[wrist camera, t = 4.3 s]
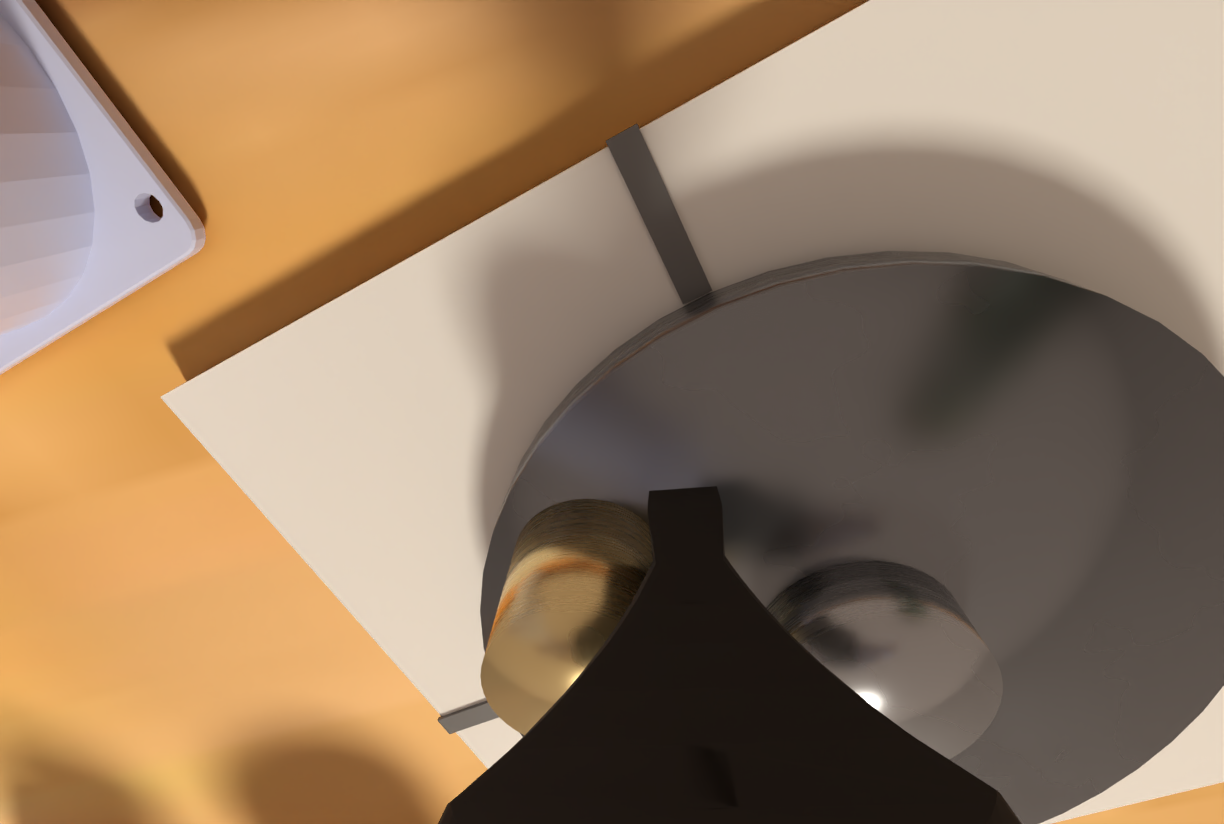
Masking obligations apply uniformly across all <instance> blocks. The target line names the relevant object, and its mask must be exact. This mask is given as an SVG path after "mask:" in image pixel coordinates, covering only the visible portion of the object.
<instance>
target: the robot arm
mask: <svg viewBox="0 0 1224 824" xmlns="http://www.w3.org/2000/svg"><path fill="white" fill-rule="evenodd" d="M151 195H153V196H154V197H155V198H156V199H157V200H158V201H159V202H160V204H161V206H162V208H163V217H162V218H160V217H159V216H157V215H156V214H155V213H154V212H153V210H152V208H151V206H150V196H151ZM205 239H206V235H205V228H204V226H203V224H202V222H201V220H200V218H199V217H198V216H197V214H196V213H195V212H194V210H193V209H192V208H191V206H190V205H189V204H188V202H187V201H186V200H185V198H184V197H183V196H182V194H181V193H180V192H179V190H178V189H177V188H176V186H175V185H174V184H173V182H172V181H171V180H170V179H169V177H168V176H167V175H166V173H165V172H164V171H163V169H162V168H161V167H160V165H159V164H158V163H157V161H156V160H155V159H154V157H153V156H152V155H151V153H150V152H149V151H148V149H147V148H146V147H145V145H144V144H143V143H142V141H141V140H140V139H139V138H138V136H137V135H136V134H135V132H134V131H133V130H132V128H131V127H130V126H129V124H128V123H127V122H126V120H125V119H124V118H123V116H122V115H121V114H120V112H119V111H118V110H117V108H116V107H115V106H114V104H113V103H112V102H111V101H110V99H109V98H108V97H107V95H106V94H105V93H104V91H103V90H102V89H101V87H100V86H99V85H98V83H97V82H96V81H95V79H94V78H93V77H92V75H91V74H90V73H89V71H88V70H87V69H86V67H85V66H84V65H83V63H82V62H81V61H80V60H79V58H78V57H77V56H76V54H75V53H74V52H73V50H72V49H71V48H70V46H69V45H68V44H67V42H66V41H65V40H64V38H63V37H62V36H61V34H60V33H59V32H58V30H57V29H56V28H55V26H54V25H53V24H52V22H51V21H50V20H49V19H48V17H47V16H46V15H45V13H44V12H43V11H42V9H41V8H40V7H39V5H38V4H37V3H36V1H35V0H0V375H1V374H2V373H4V372H6V371H7V370H9V369H10V368H12V367H14V366H15V365H17V364H18V363H20V362H22V361H23V360H25V359H27V358H28V357H30V356H31V355H33V354H35V353H36V352H38V351H39V350H41V349H43V348H44V347H46V346H48V345H49V344H51V343H52V342H54V341H56V340H57V339H59V338H60V337H62V336H64V335H65V334H67V333H69V332H70V331H72V330H73V329H75V328H77V327H78V326H80V325H82V324H83V323H85V322H86V321H88V320H90V319H91V318H93V317H94V316H96V315H98V314H99V313H101V312H103V311H104V310H106V309H107V308H109V307H111V306H112V305H114V304H115V303H117V302H119V301H120V300H122V299H124V298H125V297H127V296H128V295H130V294H132V293H133V292H135V291H136V290H138V289H140V288H141V287H143V286H145V285H146V284H148V283H149V282H151V281H153V280H154V279H156V278H157V277H159V276H161V275H162V274H164V273H166V272H167V271H169V270H170V269H172V268H174V267H175V266H177V265H178V264H180V263H182V262H183V261H185V260H187V259H188V258H190V257H191V256H193V255H195V254H196V253H198V252H199V251H200V250H201V249H202V248H203V247H204V243H205ZM647 513H648V522H649V531H650V540H651V549H652V558H653V562H652V564H651V566H650V568H649V570H648V572H647V574H646V576H645V577H644V579H643V581H642V583H641V585H640V587H639V589H638V591H637V592H636V594H635V596H634V598H633V600H632V601H631V603H630V605H629V606H628V608H627V610H626V611H625V613H624V615H623V616H622V618H621V619H620V621H619V622H618V624H617V625H616V627H615V628H614V630H613V631H612V633H611V634H610V636H609V637H608V639H607V640H606V641H605V643H604V644H603V646H602V647H601V648H600V649H599V651H598V652H597V653H596V655H595V656H594V657H593V659H592V660H591V661H590V662H589V664H588V665H587V666H586V668H585V669H584V670H583V672H582V673H581V674H580V675H579V676H578V678H577V679H576V680H575V681H574V682H573V684H572V685H571V686H570V687H569V688H568V690H567V691H566V692H565V693H564V694H563V695H562V696H561V697H560V698H559V699H558V700H557V702H556V703H555V704H554V705H553V706H552V707H551V708H550V709H549V710H548V711H547V712H546V713H545V714H544V715H543V716H542V717H541V718H540V720H539V721H538V722H537V723H536V724H535V725H534V726H533V727H532V728H531V729H530V730H529V731H528V732H527V733H526V734H525V735H524V736H523V737H522V738H521V739H520V740H519V741H518V742H517V743H516V744H515V745H514V746H513V747H512V748H511V749H510V750H509V751H508V752H507V753H506V754H504V755H503V756H502V757H501V758H500V759H499V760H498V761H497V762H495V763H494V764H493V765H492V766H491V767H490V768H489V769H488V770H486V771H485V772H484V773H483V774H482V775H481V776H480V777H479V778H477V779H476V780H475V781H474V782H473V783H472V784H471V785H470V786H468V787H467V788H466V789H465V790H464V791H463V792H462V793H461V794H459V795H458V796H457V797H456V798H455V799H453V800H452V801H451V802H450V803H448V804H447V806H446V809H445V811H444V813H443V815H442V817H441V819H440V821H439V823H438V824H1022V823H1021V822H1020V820H1019V819H1018V818H1017V816H1016V815H1015V813H1014V812H1013V810H1012V809H1011V808H1010V806H1009V805H1008V803H1007V802H1006V801H1005V799H1004V798H1003V796H1002V795H1001V794H1000V793H999V792H998V791H997V790H996V789H994V788H993V787H991V786H990V785H988V784H986V783H985V782H983V781H982V780H980V779H979V778H977V777H976V776H974V775H972V774H971V773H969V772H968V771H966V770H965V769H963V768H962V767H960V766H958V765H957V764H955V763H954V762H952V761H951V760H949V759H948V758H946V757H944V756H943V755H941V754H940V753H938V752H937V751H935V750H934V749H932V748H930V747H929V746H927V745H926V744H924V743H923V742H921V741H920V740H918V739H917V738H915V737H914V736H912V735H911V734H909V733H908V732H906V731H905V730H904V729H902V728H901V727H900V726H898V725H897V724H896V723H894V722H893V721H891V720H890V719H889V718H887V717H886V716H885V715H883V714H882V713H881V712H879V711H878V710H877V709H875V708H874V707H873V706H872V705H870V704H869V703H868V702H867V701H866V700H864V699H863V698H862V697H861V696H860V695H858V694H857V693H856V692H855V691H854V690H852V689H851V688H850V687H849V686H848V685H846V684H845V683H844V682H843V681H842V680H840V679H839V678H838V677H837V676H836V675H835V674H833V673H832V672H831V671H830V670H829V669H827V668H826V667H825V666H824V665H823V664H821V663H820V662H819V661H818V660H817V659H816V658H815V657H814V656H813V655H812V654H811V653H810V652H809V651H808V650H806V649H805V648H804V647H803V646H802V645H801V644H800V643H799V642H798V641H797V640H796V639H795V638H794V637H793V636H792V635H791V634H790V633H789V632H788V631H787V630H786V629H785V628H784V627H783V626H782V625H781V624H780V623H779V622H778V620H777V619H776V618H775V617H774V616H773V615H772V614H771V613H770V612H769V611H768V610H767V608H766V607H765V606H764V605H763V604H762V603H761V602H760V600H759V599H758V598H757V597H756V596H755V594H754V593H753V592H752V591H751V590H750V588H749V587H748V586H747V585H746V583H745V582H744V581H743V580H742V578H741V577H740V576H739V574H738V573H737V572H736V570H735V569H734V568H733V566H732V565H731V564H730V562H729V561H728V559H727V558H726V556H725V548H724V529H723V509H722V503H721V499H720V495H719V492H718V489H717V486H711V487H696V488H682V489H668V490H653V491H649V496H648V509H647Z"/></svg>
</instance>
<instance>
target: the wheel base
mask: <svg viewBox="0 0 1224 824" xmlns="http://www.w3.org/2000/svg"><path fill="white" fill-rule="evenodd" d="M606 143H607V145H608V146H607V147H605V148H604V149H602V150H600V151H598V152H596V153H595V154H593V155H591V156H589V157H588V158H586V159H584V160H582V161H580V162H579V163H577V164H575V165H573V166H571V167H570V168H568V169H566V170H564V171H562V172H561V173H559V174H557V175H555V176H554V177H552V178H550V179H548V180H546V181H545V182H543V183H541V184H539V185H537V186H536V187H534V188H532V189H530V190H528V191H527V192H525V193H523V194H521V195H520V196H518V197H516V198H514V199H512V200H511V201H509V202H507V203H505V204H503V205H502V206H500V207H498V208H496V209H494V210H493V211H491V212H489V213H487V214H486V215H484V216H482V217H480V218H478V219H477V220H475V221H473V222H471V223H469V224H468V225H466V226H464V227H462V228H461V229H459V230H457V231H455V232H453V233H452V234H450V235H448V236H446V237H444V238H443V239H441V240H439V241H437V242H435V243H434V244H432V245H430V246H428V247H427V248H425V249H423V250H421V251H419V252H418V253H416V254H414V255H412V256H410V257H409V258H407V259H405V260H403V261H401V262H400V263H398V264H396V265H394V266H393V267H391V268H389V269H387V270H385V271H384V272H382V273H380V274H378V275H376V276H375V277H373V278H371V279H369V280H367V281H366V282H364V283H362V284H360V285H359V286H357V287H355V288H353V289H351V290H350V291H348V292H346V293H344V294H342V295H341V296H339V297H337V298H335V299H333V300H332V301H330V302H328V303H326V304H325V305H323V306H321V307H319V308H317V309H316V310H314V311H312V312H310V313H308V314H307V315H305V316H303V317H301V318H299V319H298V320H296V321H294V322H292V323H291V324H289V325H287V326H285V327H283V328H282V329H280V330H278V331H276V332H274V333H273V334H271V335H269V336H267V337H265V338H264V339H262V340H260V341H258V342H257V343H255V344H253V345H251V346H249V347H248V348H246V349H244V350H242V351H240V352H239V353H237V354H235V355H233V356H231V357H230V358H228V359H226V360H224V361H223V362H221V363H219V364H217V365H215V366H214V367H212V368H210V369H208V370H206V371H205V372H203V373H201V374H199V375H197V376H196V377H194V378H192V379H190V380H189V381H187V382H185V383H183V384H182V385H180V386H178V387H176V388H175V389H173V390H171V391H170V392H168V393H166V394H164V395H163V396H161V398H162V400H163V401H164V402H165V403H166V404H167V405H168V406H169V408H170V409H171V410H172V411H173V412H174V413H175V414H176V415H177V417H178V418H179V419H180V420H181V421H182V422H183V423H184V425H185V426H186V427H187V428H188V429H189V430H190V431H191V433H192V434H193V435H194V436H195V437H196V438H197V439H198V440H199V442H200V443H201V444H202V445H203V446H204V447H205V448H206V450H207V451H208V452H209V453H210V454H211V455H212V456H213V457H214V459H215V460H216V461H217V462H218V463H219V464H220V465H221V467H222V468H223V469H224V470H225V471H226V472H227V473H228V474H229V476H230V477H231V478H232V479H233V480H234V481H235V482H236V484H237V485H238V486H239V487H240V488H241V489H242V490H243V492H244V493H245V494H246V495H247V496H248V497H249V498H250V499H251V501H252V502H253V503H254V504H255V505H256V506H257V507H258V509H259V510H260V511H261V512H262V513H263V514H264V515H265V516H266V518H267V519H268V520H269V521H270V522H271V523H272V524H273V526H274V527H275V528H276V529H277V530H278V531H279V532H280V533H281V535H282V536H283V537H284V538H285V539H286V540H287V541H288V543H289V544H290V545H291V546H292V547H293V548H294V549H295V551H296V552H297V553H298V554H299V555H300V556H301V557H302V558H303V560H304V561H305V562H306V563H307V564H308V565H309V566H310V568H311V569H312V570H313V571H314V572H315V573H316V574H317V575H318V577H319V578H320V579H321V580H322V581H323V582H324V583H325V585H326V586H327V587H328V588H329V589H330V590H331V591H332V592H333V594H334V595H335V596H336V597H337V598H338V599H339V600H340V602H341V603H342V604H343V605H344V606H345V607H346V608H347V610H348V611H349V612H350V613H351V614H352V615H353V616H354V617H355V619H356V620H357V621H358V622H359V623H360V624H361V625H362V627H363V628H364V629H365V630H366V631H367V632H368V633H369V634H370V636H371V637H372V638H373V639H374V640H375V641H376V642H377V644H378V645H379V646H380V647H381V648H382V649H383V650H384V651H385V653H386V654H387V655H388V656H389V657H390V658H391V659H392V661H393V662H394V663H395V664H396V665H397V666H398V667H399V669H400V670H401V671H402V672H403V673H404V674H405V675H406V676H407V678H408V679H409V680H410V681H411V682H412V683H413V684H414V686H415V687H416V688H417V689H418V690H419V691H420V692H421V693H422V695H423V696H424V697H425V698H426V699H427V700H428V701H429V703H430V704H431V705H432V706H433V707H434V708H435V709H436V711H437V712H438V713H439V714H440V715H441V717H439V718H438V722H439V723H440V724H441V725H442V726H443V727H444V728H445V729H446V731H447V732H448V733H449V734H452V733H455V732H456V733H457V734H458V735H459V737H460V738H461V739H462V740H463V741H464V742H465V743H466V745H467V746H468V747H469V748H470V749H471V750H472V751H473V752H474V754H475V755H476V756H477V757H478V758H479V759H480V760H481V762H482V763H483V764H484V765H485V766H486V767H487V768H488V769H489V768H490V767H491V766H492V765H493V764H494V763H495V762H497V761H498V760H499V759H500V758H501V757H502V756H503V755H504V754H506V753H507V752H508V751H509V750H510V749H511V748H512V747H513V746H514V745H515V744H516V743H517V742H518V741H519V740H520V739H521V738H522V735H521V734H520V733H519V732H517V731H516V730H514V729H513V728H511V727H510V726H509V725H507V724H506V723H505V722H504V721H503V720H502V719H500V718H499V716H498V715H497V714H496V713H495V712H494V711H493V709H492V708H491V706H490V705H489V703H488V702H487V700H486V697H485V695H484V693H483V689H482V686H481V677H480V675H481V666H482V662H483V658H484V655H485V651H484V647H483V637H482V626H481V616H480V604H481V591H482V578H483V570H484V566H485V562H486V558H487V554H488V550H489V546H490V542H491V538H492V534H493V530H494V527H495V525H496V522H497V519H498V516H499V513H500V510H501V507H502V504H503V501H504V499H505V496H506V494H507V492H508V489H509V487H510V485H511V482H512V480H513V478H514V475H515V473H516V471H517V468H518V466H519V464H520V461H521V459H522V458H523V456H524V454H525V453H526V451H527V450H528V448H529V446H530V445H531V443H532V441H533V440H534V438H535V437H536V435H537V433H538V432H539V430H540V429H541V427H542V425H543V424H544V422H545V421H546V420H547V418H548V417H549V416H550V415H551V414H552V413H553V411H554V410H555V409H556V408H557V407H558V405H559V404H560V403H561V402H562V401H563V399H564V398H565V397H566V396H567V395H568V394H569V392H570V391H571V390H572V389H573V388H574V386H575V385H576V384H577V383H578V382H579V381H581V380H582V379H583V378H584V377H585V376H586V375H587V374H588V373H589V372H591V371H592V370H593V369H594V368H595V367H596V366H597V365H598V364H599V363H601V362H602V361H603V360H604V359H605V358H606V357H607V356H608V355H609V354H610V353H612V352H613V351H614V350H615V349H617V348H618V347H619V346H621V345H622V344H624V343H625V342H627V341H628V340H630V339H631V338H632V337H634V336H635V335H637V334H638V333H640V332H641V331H643V330H644V329H646V328H647V327H648V326H650V325H651V324H653V323H654V322H656V321H657V320H659V319H660V318H662V317H664V316H666V315H668V314H670V313H672V312H674V311H676V310H678V309H679V308H681V307H683V306H685V305H687V304H689V303H691V302H693V301H695V300H697V299H699V298H701V297H703V296H705V295H707V294H708V293H710V292H713V291H716V290H718V289H721V288H724V287H726V286H729V285H732V284H735V283H737V282H740V281H743V280H745V279H748V278H751V277H753V276H756V275H759V274H762V273H764V272H767V271H771V270H775V269H780V268H784V267H788V266H792V265H797V264H801V263H805V262H809V261H814V260H818V259H822V258H827V257H835V256H845V255H854V254H864V253H873V252H883V251H912V252H950V253H956V254H962V255H968V256H974V257H981V258H987V259H993V260H999V261H1006V262H1009V263H1013V264H1016V265H1019V266H1022V267H1025V268H1028V269H1032V270H1035V271H1038V272H1041V273H1044V274H1048V275H1051V276H1054V277H1057V278H1060V279H1063V280H1066V281H1068V282H1071V283H1074V284H1076V285H1079V286H1082V287H1084V288H1087V289H1090V290H1092V291H1095V292H1098V293H1100V294H1103V295H1105V296H1108V297H1110V298H1112V299H1114V300H1116V301H1118V302H1120V303H1122V304H1124V305H1126V306H1128V307H1130V308H1132V309H1134V310H1136V311H1138V312H1140V313H1142V314H1144V315H1146V316H1148V317H1150V318H1152V319H1154V320H1156V321H1158V322H1160V323H1161V324H1163V325H1164V326H1165V327H1167V328H1168V329H1169V330H1171V331H1172V332H1173V333H1175V334H1176V335H1178V336H1179V337H1180V338H1182V339H1183V340H1184V341H1186V342H1187V343H1188V344H1190V345H1191V346H1192V347H1194V348H1195V349H1197V350H1198V351H1199V352H1201V353H1202V354H1203V355H1204V356H1205V357H1206V358H1207V359H1208V360H1209V361H1210V362H1211V363H1212V364H1213V366H1214V367H1215V368H1216V369H1217V370H1218V371H1219V372H1220V373H1221V374H1222V375H1223V376H1224V0H868V1H867V2H865V3H863V4H861V5H859V6H858V7H856V8H854V9H852V10H851V11H849V12H847V13H845V14H843V15H842V16H840V17H838V18H836V19H834V20H833V21H831V22H829V23H827V24H826V25H824V26H822V27H820V28H818V29H817V30H815V31H813V32H811V33H809V34H808V35H806V36H804V37H802V38H800V39H799V40H797V41H795V42H793V43H792V44H790V45H788V46H786V47H784V48H783V49H781V50H779V51H777V52H775V53H774V54H772V55H770V56H768V57H766V58H765V59H763V60H761V61H759V62H758V63H756V64H754V65H752V66H750V67H749V68H747V69H745V70H743V71H741V72H740V73H738V74H736V75H734V76H732V77H731V78H729V79H727V80H725V81H724V82H722V83H720V84H718V85H716V86H715V87H713V88H711V89H709V90H707V91H706V92H704V93H702V94H700V95H698V96H697V97H695V98H693V99H691V100H690V101H688V102H686V103H684V104H682V105H681V106H679V107H677V108H675V109H673V110H672V111H670V112H668V113H666V114H664V115H663V116H661V117H659V118H657V119H656V120H654V121H652V122H650V123H648V124H647V125H645V126H643V127H641V128H639V127H638V124H635V125H633V126H632V127H630V128H628V129H626V130H624V131H623V132H621V133H619V134H617V135H616V136H614V137H612V138H610V139H608V140H607V141H606ZM1221 782H1224V686H1223V687H1222V688H1221V690H1220V691H1219V692H1218V693H1217V695H1216V696H1215V697H1214V698H1213V700H1212V701H1211V702H1210V703H1209V705H1208V706H1207V707H1206V708H1205V709H1204V711H1203V712H1202V713H1201V714H1200V715H1199V716H1198V717H1197V718H1196V719H1195V720H1194V721H1193V722H1192V723H1191V724H1190V725H1189V726H1188V727H1187V728H1186V729H1185V730H1184V731H1183V732H1181V733H1180V734H1179V735H1178V736H1177V737H1176V738H1175V739H1174V740H1173V741H1172V742H1171V743H1170V744H1169V745H1167V746H1166V747H1165V748H1164V749H1162V750H1161V751H1160V752H1159V753H1157V754H1156V755H1155V756H1154V757H1152V758H1151V759H1150V760H1149V761H1147V762H1146V763H1145V764H1144V765H1142V766H1141V767H1140V768H1139V769H1137V770H1136V771H1134V772H1133V773H1131V774H1130V775H1128V776H1127V777H1125V778H1124V779H1122V780H1120V781H1119V782H1117V783H1116V784H1114V785H1113V786H1111V787H1110V788H1108V789H1107V790H1105V791H1104V792H1102V793H1100V794H1099V795H1097V796H1095V797H1093V798H1091V799H1089V800H1087V801H1085V802H1084V803H1082V804H1080V805H1078V806H1076V807H1074V808H1072V809H1070V810H1069V811H1067V812H1065V813H1063V814H1061V815H1058V816H1056V817H1054V818H1051V819H1049V820H1047V821H1044V822H1042V823H1040V824H1051V823H1055V822H1059V821H1064V820H1068V819H1072V818H1076V817H1080V816H1084V815H1089V814H1093V813H1097V812H1101V811H1105V810H1109V809H1113V808H1118V807H1122V806H1126V805H1130V804H1134V803H1138V802H1143V801H1147V800H1151V799H1155V798H1159V797H1163V796H1167V795H1172V794H1176V793H1180V792H1184V791H1188V790H1192V789H1197V788H1201V787H1205V786H1209V785H1213V784H1217V783H1221Z"/></svg>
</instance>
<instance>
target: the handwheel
mask: <svg viewBox="0 0 1224 824" xmlns="http://www.w3.org/2000/svg"><path fill="white" fill-rule="evenodd" d="M711 486H717V489H718V492H719V495H720V499H721V503H722V509H723V529H724V548H725V556H726V558H727V559H728V561H729V562H730V564H731V565H732V566H733V568H734V569H735V570H736V572H737V573H738V574H739V576H740V577H741V578H742V580H743V581H744V582H745V583H746V585H747V586H748V587H749V588H750V590H751V591H752V592H753V593H754V594H755V596H756V597H757V598H758V599H759V600H760V602H761V603H762V604H763V605H764V606H765V607H766V608H767V610H768V611H769V612H770V613H771V614H772V615H773V616H774V617H775V618H776V619H777V620H778V622H779V623H780V624H781V625H782V626H783V627H784V628H785V629H786V630H787V631H788V632H789V633H790V634H791V635H792V636H793V637H794V638H795V639H796V640H797V641H798V642H799V643H800V644H801V645H802V646H803V647H804V648H805V649H806V650H808V651H809V652H810V653H811V654H812V655H813V656H814V657H815V658H816V659H817V660H818V661H819V662H820V663H821V664H823V665H824V666H825V667H826V668H827V669H829V670H830V671H831V672H832V673H833V674H835V675H836V676H837V677H838V678H839V679H840V680H842V681H843V682H844V683H845V684H846V685H848V686H849V687H850V688H851V689H852V690H854V691H855V692H856V693H857V694H858V695H860V696H861V697H862V698H863V699H864V700H866V701H867V702H868V703H869V704H870V705H872V706H873V707H874V708H875V709H877V710H878V711H879V712H881V713H882V714H883V715H885V716H886V717H887V718H889V719H890V720H891V721H893V722H894V723H896V724H897V725H898V726H900V727H901V728H902V729H904V730H905V731H906V732H908V733H909V734H911V735H912V736H914V737H915V738H917V739H918V740H920V741H921V742H923V743H924V744H926V745H927V746H929V747H930V748H932V749H934V750H935V751H937V752H938V753H940V754H941V755H943V756H944V757H946V758H948V759H949V760H951V761H952V762H954V763H955V764H957V765H958V766H960V767H962V768H963V769H965V770H966V771H968V772H969V773H971V774H972V775H974V776H976V777H977V778H979V779H980V780H982V781H983V782H985V783H986V784H988V785H990V786H991V787H993V788H994V789H996V790H997V791H998V792H999V793H1000V794H1001V795H1002V796H1003V798H1004V799H1005V801H1006V802H1007V803H1008V805H1009V806H1010V808H1011V809H1012V810H1013V812H1014V813H1015V815H1016V816H1017V818H1018V819H1019V820H1020V822H1021V823H1022V824H1040V823H1042V822H1044V821H1047V820H1049V819H1051V818H1054V817H1056V816H1058V815H1061V814H1063V813H1065V812H1067V811H1069V810H1070V809H1072V808H1074V807H1076V806H1078V805H1080V804H1082V803H1084V802H1085V801H1087V800H1089V799H1091V798H1093V797H1095V796H1097V795H1099V794H1100V793H1102V792H1104V791H1105V790H1107V789H1108V788H1110V787H1111V786H1113V785H1114V784H1116V783H1117V782H1119V781H1120V780H1122V779H1124V778H1125V777H1127V776H1128V775H1130V774H1131V773H1133V772H1134V771H1136V770H1137V769H1139V768H1140V767H1141V766H1142V765H1144V764H1145V763H1146V762H1147V761H1149V760H1150V759H1151V758H1152V757H1154V756H1155V755H1156V754H1157V753H1159V752H1160V751H1161V750H1162V749H1164V748H1165V747H1166V746H1167V745H1169V744H1170V743H1171V742H1172V741H1173V740H1174V739H1175V738H1176V737H1177V736H1178V735H1179V734H1180V733H1181V732H1183V731H1184V730H1185V729H1186V728H1187V727H1188V726H1189V725H1190V724H1191V723H1192V722H1193V721H1194V720H1195V719H1196V718H1197V717H1198V716H1199V715H1200V714H1201V713H1202V712H1203V711H1204V709H1205V708H1206V707H1207V706H1208V705H1209V703H1210V702H1211V701H1212V700H1213V698H1214V697H1215V696H1216V695H1217V693H1218V692H1219V691H1220V690H1221V688H1222V687H1223V686H1224V376H1223V375H1222V374H1221V373H1220V372H1219V371H1218V370H1217V369H1216V368H1215V367H1214V366H1213V364H1212V363H1211V362H1210V361H1209V360H1208V359H1207V358H1206V357H1205V356H1204V355H1203V354H1202V353H1201V352H1199V351H1198V350H1197V349H1195V348H1194V347H1192V346H1191V345H1190V344H1188V343H1187V342H1186V341H1184V340H1183V339H1182V338H1180V337H1179V336H1178V335H1176V334H1175V333H1173V332H1172V331H1171V330H1169V329H1168V328H1167V327H1165V326H1164V325H1163V324H1161V323H1160V322H1158V321H1156V320H1154V319H1152V318H1150V317H1148V316H1146V315H1144V314H1142V313H1140V312H1138V311H1136V310H1134V309H1132V308H1130V307H1128V306H1126V305H1124V304H1122V303H1120V302H1118V301H1116V300H1114V299H1112V298H1110V297H1108V296H1105V295H1103V294H1100V293H1098V292H1095V291H1092V290H1090V289H1087V288H1084V287H1082V286H1079V285H1076V284H1074V283H1071V282H1068V281H1066V280H1063V279H1060V278H1057V277H1054V276H1051V275H1048V274H1044V273H1041V272H1038V271H1035V270H1032V269H1028V268H1025V267H1022V266H1019V265H1016V264H1013V263H1009V262H1006V261H999V260H993V259H987V258H981V257H974V256H968V255H962V254H956V253H950V252H912V251H883V252H873V253H864V254H854V255H845V256H835V257H827V258H822V259H818V260H814V261H809V262H805V263H801V264H797V265H792V266H788V267H784V268H780V269H775V270H771V271H767V272H764V273H762V274H759V275H756V276H753V277H751V278H748V279H745V280H743V281H740V282H737V283H735V284H732V285H729V286H726V287H724V288H721V289H718V290H716V291H713V292H710V293H708V294H707V295H705V296H703V297H701V298H699V299H697V300H695V301H693V302H691V303H689V304H687V305H685V306H683V307H681V308H679V309H678V310H676V311H674V312H672V313H670V314H668V315H666V316H664V317H662V318H660V319H659V320H657V321H656V322H654V323H653V324H651V325H650V326H648V327H647V328H646V329H644V330H643V331H641V332H640V333H638V334H637V335H635V336H634V337H632V338H631V339H630V340H628V341H627V342H625V343H624V344H622V345H621V346H619V347H618V348H617V349H615V350H614V351H613V352H612V353H610V354H609V355H608V356H607V357H606V358H605V359H604V360H603V361H602V362H601V363H599V364H598V365H597V366H596V367H595V368H594V369H593V370H592V371H591V372H589V373H588V374H587V375H586V376H585V377H584V378H583V379H582V380H581V381H579V382H578V383H577V384H576V385H575V386H574V388H573V389H572V390H571V391H570V392H569V394H568V395H567V396H566V397H565V398H564V399H563V401H562V402H561V403H560V404H559V405H558V407H557V408H556V409H555V410H554V411H553V413H552V414H551V415H550V416H549V417H548V418H547V420H546V421H545V422H544V424H543V425H542V427H541V429H540V430H539V432H538V433H537V435H536V437H535V438H534V440H533V441H532V443H531V445H530V446H529V448H528V450H527V451H526V453H525V454H524V456H523V458H522V459H521V461H520V464H519V466H518V468H517V471H516V473H515V475H514V478H513V480H512V482H511V485H510V487H509V489H508V492H507V494H506V496H505V499H504V501H503V504H502V507H501V510H500V513H499V516H498V519H497V522H496V525H495V527H494V530H493V534H492V538H491V542H490V546H489V550H488V554H487V558H486V562H485V566H484V570H483V578H482V591H481V604H480V616H481V626H482V637H483V647H484V651H485V655H484V658H483V662H482V666H481V675H480V677H481V686H482V689H483V693H484V695H485V697H486V700H487V702H488V703H489V705H490V706H491V708H492V709H493V711H494V712H495V713H496V714H497V715H498V716H499V718H500V719H502V720H503V721H504V722H505V723H506V724H507V725H509V726H510V727H511V728H513V729H514V730H516V731H517V732H519V733H520V734H521V735H522V737H523V736H524V735H525V734H526V733H527V732H528V731H529V730H530V729H531V728H532V727H533V726H534V725H535V724H536V723H537V722H538V721H539V720H540V718H541V717H542V716H543V715H544V714H545V713H546V712H547V711H548V710H549V709H550V708H551V707H552V706H553V705H554V704H555V703H556V702H557V700H558V699H559V698H560V697H561V696H562V695H563V694H564V693H565V692H566V691H567V690H568V688H569V687H570V686H571V685H572V684H573V682H574V681H575V680H576V679H577V678H578V676H579V675H580V674H581V673H582V672H583V670H584V669H585V668H586V666H587V665H588V664H589V662H590V661H591V660H592V659H593V657H594V656H595V655H596V653H597V652H598V651H599V649H600V648H601V647H602V646H603V644H604V643H605V641H606V640H607V639H608V637H609V636H610V634H611V633H612V631H613V630H614V628H615V627H616V625H617V624H618V622H619V621H620V619H621V618H622V616H623V615H624V613H625V611H626V610H627V608H628V606H629V605H630V603H631V601H632V600H633V598H634V596H635V594H636V592H637V591H638V589H639V587H640V585H641V583H642V581H643V579H644V577H645V576H646V574H647V572H648V570H649V568H650V566H651V564H652V562H653V558H652V549H651V540H650V531H649V522H648V513H647V509H648V496H649V491H653V490H668V489H682V488H696V487H711Z"/></svg>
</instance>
